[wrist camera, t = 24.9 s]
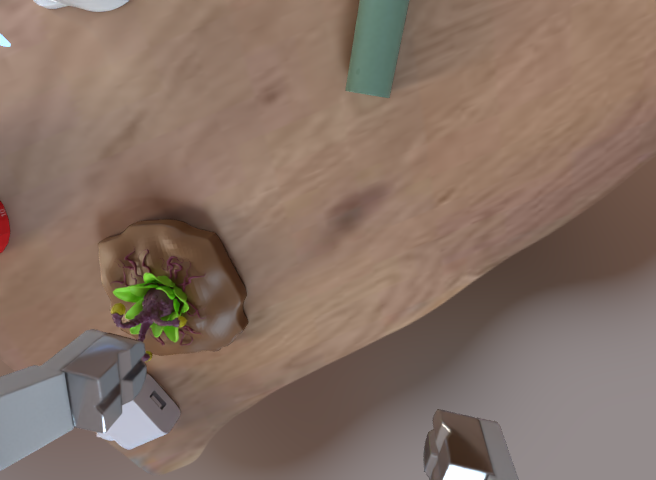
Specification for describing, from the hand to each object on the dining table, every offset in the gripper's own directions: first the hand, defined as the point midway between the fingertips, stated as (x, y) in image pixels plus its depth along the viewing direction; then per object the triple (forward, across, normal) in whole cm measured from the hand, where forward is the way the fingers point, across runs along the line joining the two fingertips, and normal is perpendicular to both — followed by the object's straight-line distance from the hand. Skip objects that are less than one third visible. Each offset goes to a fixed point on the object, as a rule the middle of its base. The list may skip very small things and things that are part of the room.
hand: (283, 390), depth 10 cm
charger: (+34, +30, +45) cm, 64 cm away
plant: (+34, +22, +20) cm, 46 cm away
